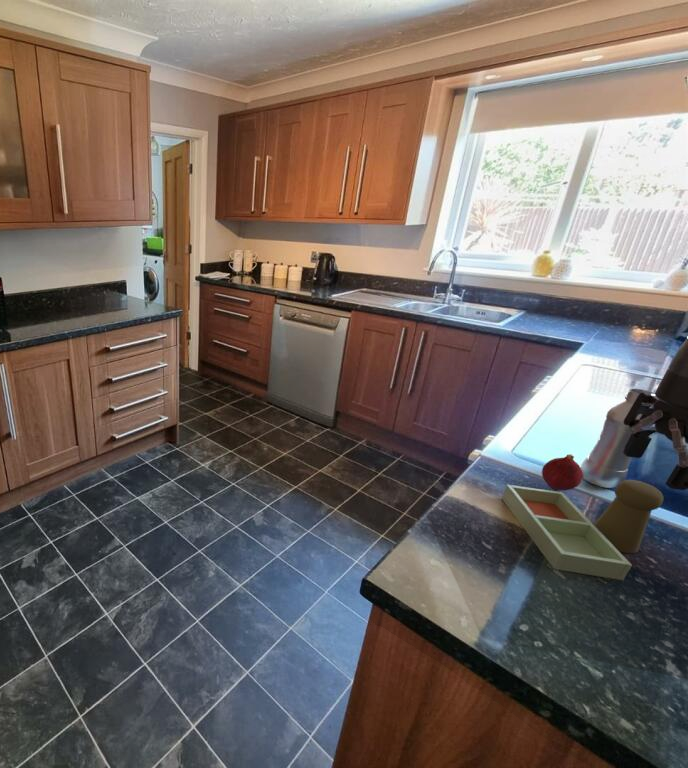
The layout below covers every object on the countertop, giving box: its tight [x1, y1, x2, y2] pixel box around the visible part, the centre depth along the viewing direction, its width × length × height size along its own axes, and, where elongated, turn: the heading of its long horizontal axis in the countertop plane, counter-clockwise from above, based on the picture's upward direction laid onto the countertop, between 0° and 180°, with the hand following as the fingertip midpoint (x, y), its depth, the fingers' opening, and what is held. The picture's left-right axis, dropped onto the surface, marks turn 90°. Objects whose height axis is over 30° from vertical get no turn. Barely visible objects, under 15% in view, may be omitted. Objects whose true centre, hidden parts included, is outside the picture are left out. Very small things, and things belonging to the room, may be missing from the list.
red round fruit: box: [541, 453, 584, 492], centre depth 81 cm, size 6×6×8 cm
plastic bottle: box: [580, 388, 654, 489], centre depth 81 cm, size 6×7×20 cm
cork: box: [592, 479, 664, 554], centre depth 68 cm, size 6×6×11 cm
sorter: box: [501, 484, 633, 581], centre depth 71 cm, size 9×17×3 cm, turn 167°
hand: (651, 471), depth 65 cm, fingers open, 8 cm apart
